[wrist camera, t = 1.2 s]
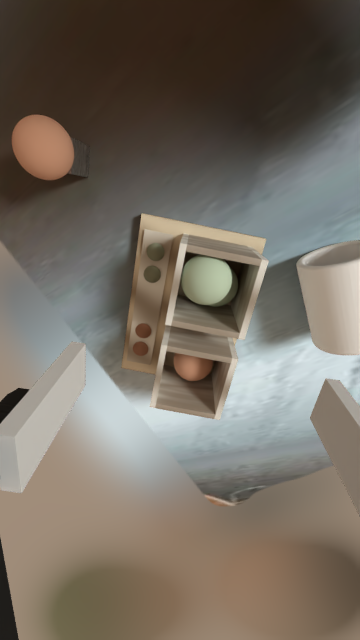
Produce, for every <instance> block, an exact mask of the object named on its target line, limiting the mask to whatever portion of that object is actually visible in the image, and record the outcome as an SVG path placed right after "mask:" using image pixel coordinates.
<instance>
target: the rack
mask: <svg viewBox="0 0 360 640" xmlns="http://www.w3.org/2000/svg"><path fill="white" fill-rule="evenodd" d="M265 242H266V239H265V238H261V237H256V236H252V235H247V234H242V233H237V232H232V231H227V230H222V229H217V228H212V227H207V226H203V225H198V224H193V223H188V222H183V221H178V220H173V219H168V218H163V217H158V216H154V215H149V214H144V213H143V214H141V222H140V230H139V237H138V245H137V253H136V260H135V268H134V276H133V283H132V291H131V299H130V306H129V314H128V322H127V329H126V337H125V345H124V352H123V360H122V368H124V369H130V370H135V371H140V372H145V373H151V374H156V376H155V381H154V387H153V392H152V397H151V403H150V407H153V408H158V409H163V410H169V411H174V412H180V413H185V414H190V415H196V416H201V417H207V418H212V419H217V420H220V417H221V414H222V410H223V407H224V404H225V401H226V397H227V394H228V391H229V388H230V385H231V381H232V378H233V375H234V372H235V368H236V365H237V362H238V357H237V353H236V349H235V343H236V340H237V339H241V340H244V339H245V336H246V333H247V330H248V326H249V323H250V320H251V317H252V313H253V310H254V307H255V304H256V301H257V297H258V294H259V291H260V288H261V284H262V281H263V278H264V275H265V271H266V268H267V265H268V262H269V261H268V260H267V259H266V258H265V257H264V256H262V252H263V249H264V245H265ZM199 254H202V255H206V256H211V257H216V258H221V259H223V260H224V261H225V262H226V263H227V264H228V266H229V267H230V268H231V269H232V270H233V271H234V272H235V274H236V276H237V279H238V289H237V292H236V295H235V296H234V298H233V299H232V300H231V301H230V302H229V303H227V304H225V305H223V306H219V307H212V306H209V305H201V304H197V303H195V302H193V301H192V300H190V299H189V298H188V297H187V296H186V294H185V293H184V291H183V289H182V286H181V273H182V270H183V268H184V266H185V264H186V263H187V262H188V261H189V260H190V259H191V258H193V257H194V256H197V255H199ZM175 353H179V354H184V355H189V356H195V357H200V358H205V359H210V360H213V365H212V369H211V371H210V373H209V374H208V375H207V376H206V377H205V378H203V379H201V380H198V381H188V380H185V379H183V378H182V377H181V376H180V375H179V374H178V373H177V371H176V370H175V367H174V356H175Z"/></svg>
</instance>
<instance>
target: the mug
mask: <svg viewBox="0 0 360 640" xmlns="http://www.w3.org/2000/svg"><path fill="white" fill-rule="evenodd" d="M296 266H297V271H298V276H299V280H300V285H301V290H302V295H303V299H304V304H305V309H306V313H307V318H308V323H309V327H310V332H311V337H312V341H313V343H314V345H315V346H316V347H317V348H319V349H320V350H322V351H325V352H328V353H331V354H337V355H359V354H360V240H354V241H347V242H342V243H337V244H333V245H329V246H326V247H322V248H320V249H317V250H314V251H312V252H310V253H308V254H306V255H304V256H303V257H301V258H300V259H299V260H298V261H297V264H296Z"/></svg>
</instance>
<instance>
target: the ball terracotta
mask: <svg viewBox="0 0 360 640" xmlns="http://www.w3.org/2000/svg"><path fill="white" fill-rule="evenodd" d="M12 147H13V151H14V154H15V156H16V158H17V160H18V162H19V163H20V164H21V166H22V167H23V168H24V169H25V170H26V171H27V172H29V173H30V174H32V175H33V176H35V177H37V178H40V179H43V180H56V179H59V178H61V177H63V176H64V175H66V174H67V173H68V172H69V170H70V169H71V167H72V165H73V161H74V148H73V144H72V141H71V138H70V136H69V135H68V133H67V132H66V130H65V129H64V128H63V127H62V126H61V125H60V124H59V123H58V122H56V121H55V120H53V119H52V118H49V117H47V116H44V115H29V116H27V117H24V118H23V119H21V120H20V121H19V122H18V123H17V125H16V126H15V128H14V130H13V134H12Z"/></svg>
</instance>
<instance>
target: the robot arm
mask: <svg viewBox="0 0 360 640" xmlns="http://www.w3.org/2000/svg"><path fill="white" fill-rule="evenodd" d="M85 355H86V344H84V343H77V342H71V343H70V344H69V345H68V347H67V348H66V349H65V350H64V351H63V352H62V353H61V354H60V356H59V357H58V358H57V359H56V360H55V361H54V363H53V364H52V365H51V366H50V367H49V368H48V369H47V371H46V372H45V373H44V374H43V375H42V376H41V378H40V379H39V380H38V381H37V382H36V383H35V384H34V386H33V387H32V388H31V389H30V390H29V389H22V388H18V389H16V390H15V391H13V392H11V393H9V394H7V396H5V398H4V399H3V400H2V401H1V402H0V487H1V490H3V491H10V492H17V493H22V492H23V490H24V488H25V486H26V485H27V483H28V481H29V480H30V478H31V476H32V475H33V473H34V471H35V470H36V468H37V466H38V464H39V463H40V461H41V459H42V458H43V456H44V454H45V453H46V451H47V449H48V448H49V446H50V444H51V443H52V441H53V439H54V438H55V436H56V434H57V433H58V431H59V429H60V427H61V425H62V424H63V422H64V421H65V419H66V417H67V416H68V414H69V412H70V411H71V409H72V407H73V406H74V404H75V402H76V401H77V399H78V397H79V395H80V394H81V392H82V390H83V388H84V387H85V362H86V361H85V360H86V359H85V357H86V356H85ZM310 419H311V421H312V423H313V425H314V427H315V429H316V431H317V433H318V435H319V437H320V439H321V441H322V443H323V445H324V447H325V449H326V451H327V453H328V455H329V457H330V459H331V461H332V463H333V465H334V467H335V468H336V470H337V472H338V474H339V476H340V478H341V480H342V482H343V484H344V486H345V488H346V490H347V492H348V494H349V496H350V498H351V500H352V502H353V504H354V506H355V508H356V510H357V512H358V514H359V516H360V406H359V405H358V404H357V402H356V401H355V400H354V398H353V397H352V396H351V395H350V393H349V392H348V391H347V389H346V388H345V387H344V386H343V384H342V383H341V382H340V380H333V379H325V381H324V384H323V386H322V389H321V391H320V394H319V396H318V399H317V401H316V404H315V406H314V409H313V411H312V414H311V417H310ZM0 640H19V639H18V633H17V628H16V622H15V617H14V611H13V606H12V600H11V594H10V589H9V583H8V578H7V572H6V566H5V561H4V556H3V550H2V544H1V539H0Z"/></svg>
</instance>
